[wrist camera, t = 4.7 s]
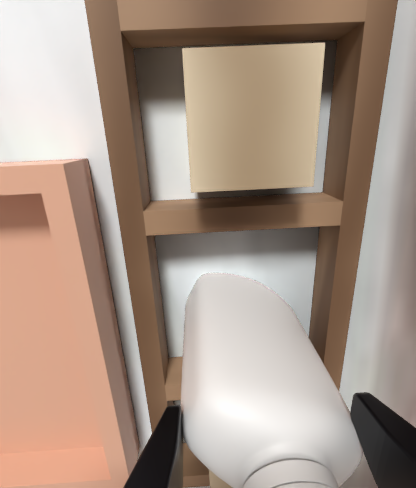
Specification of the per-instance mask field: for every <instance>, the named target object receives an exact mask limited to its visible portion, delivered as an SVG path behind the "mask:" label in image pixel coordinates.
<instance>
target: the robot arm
mask: <svg viewBox="0 0 416 488" xmlns="http://www.w3.org/2000/svg"><path fill="white" fill-rule="evenodd" d="M350 416H351V421H352V423H353V425H354V428H355V430H356V433H357V436H358V439H359V441H360V444H361V447H362V449H363V452H364V454H365V457H366V460H367V462H368V465H369V467H370V470H371V472H372V475H373V477H374V480H375V482H376V484H377V486H378V488H416V428H415V427H414V426H412V425H411V424H410V423H408V422H407V421H406V420H404V419H403V418H402V417H400V416H399V415H398V414H397V413H395V412H394V411H393V410H391V409H390V408H389V407H387V406H386V405H385V404H383V403H382V402H381V401H379V400H378V399H377V398H375V397H374V396H373V395H371V394H370V393H367V392H364V393H355V394H354V395H353V400H352V406H351V412H350ZM123 488H183V436H182V409H181V406H180V405H170V406H167V407H166V409H165V411H164V413H163V415H162V416H161V418H160V420H159V422H158V424H157V426H156V428H155V429H154V431H153V433H152V435H151V437H150V439H149V440H148V442H147V444H146V446H145V448H144V450H143V452H142V453H141V455H140V457H139V459H138V461H137V463H136V465H135V466H134V468H133V470H132V472H131V474H130V476H129V478H128V479H127V481H126V483H125V485H124V487H123Z"/></svg>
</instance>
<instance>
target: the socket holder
mask: <svg viewBox="0 0 416 488" xmlns="http://www.w3.org/2000/svg"><path fill="white" fill-rule="evenodd" d="M397 3H398V0H85V6H86V13H87V19H88V26H89V32H90V38H91V45H92V51H93V58H94V64H95V71H96V77H97V83H98V90H99V96H100V103H101V109H102V115H103V122H104V128H105V135H106V141H107V147H108V154H109V160H110V167H111V173H112V179H113V186H114V192H115V199H116V205H117V212H118V218H119V224H120V231H121V237H122V244H123V250H124V256H125V263H126V269H127V276H128V282H129V288H130V295H131V301H132V308H133V314H134V320H135V327H136V333H137V340H138V346H139V352H140V359H141V365H142V372H143V378H144V385H145V391H146V397H147V404H148V410H149V417H150V423H151V429H152V433H153V431H154V429H155V428H156V426H157V424H158V422H159V420H160V418H161V416H162V415H163V413H164V411H165V409H166V407H167V406H170V405H174V403H173V400H181V382H182V362H183V357H170V358H168V350H167V341H166V332H165V324H164V315H163V306H162V297H161V288H160V280H159V271H158V262H157V253H156V244H155V236H154V235H168V234H187V233H206V232H224V231H243V230H262V229H281V228H299V227H318V226H320V227H319V237H318V248H317V258H316V269H315V279H314V290H313V300H312V311H311V321H310V332H309V339H310V341H311V343H312V344H313V346H314V348H315V350H316V352H317V353H318V355H319V357H320V359H321V360H322V362H323V364H324V366H325V368H326V369H327V371H328V373H329V375H330V377H331V378H332V380H333V382H334V384H335V385H336V387H337V389H338V391H339V388H340V381H341V374H342V368H343V361H344V355H345V348H346V341H347V335H348V328H349V321H350V315H351V308H352V301H353V295H354V288H355V281H356V275H357V268H358V262H359V255H360V248H361V242H362V235H363V228H364V222H365V215H366V208H367V202H368V195H369V189H370V182H371V175H372V169H373V162H374V155H375V149H376V142H377V135H378V129H379V122H380V115H381V109H382V102H383V96H384V89H385V82H386V76H387V69H388V62H389V56H390V49H391V42H392V36H393V29H394V22H395V16H396V9H397ZM331 40H337V48H336V58H335V69H334V79H333V90H332V100H331V111H330V121H329V132H328V142H327V153H326V163H325V174H324V185H323V192H321V193H301V194H282V195H262V196H242V197H223V198H203V199H183V200H164V201H151V200H150V192H149V183H148V174H147V165H146V157H145V148H144V139H143V130H142V121H141V113H140V104H139V95H138V86H137V77H136V69H135V60H134V51H133V48H154V47H180V46H205V45H230V44H255V43H281V42H306V41H331ZM199 486H210V479H209V469H208V468H207V467H206V466H205V465H204V464H203V463H202V462H201V461H200V460H199V459H198V458H197V457H196V456H195V455H194V454H193V453H192V451H191V450H190V449H189V447H188V446H187V444H186V443H183V488H185V487H199Z"/></svg>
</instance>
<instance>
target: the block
mask: <svg viewBox="0 0 416 488" xmlns="http://www.w3.org/2000/svg"><path fill="white" fill-rule="evenodd" d="M324 52H325V43H301V44H276V45H251V46H226V47H201V48H182V56H183V72H184V88H185V103H186V119H187V135H188V150H189V166H190V182H191V193H194V192H214V191H234V190H254V189H274V188H294V187H313V184H314V172H315V160H316V148H317V136H318V124H319V112H320V100H321V88H322V76H323V64H324Z"/></svg>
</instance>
